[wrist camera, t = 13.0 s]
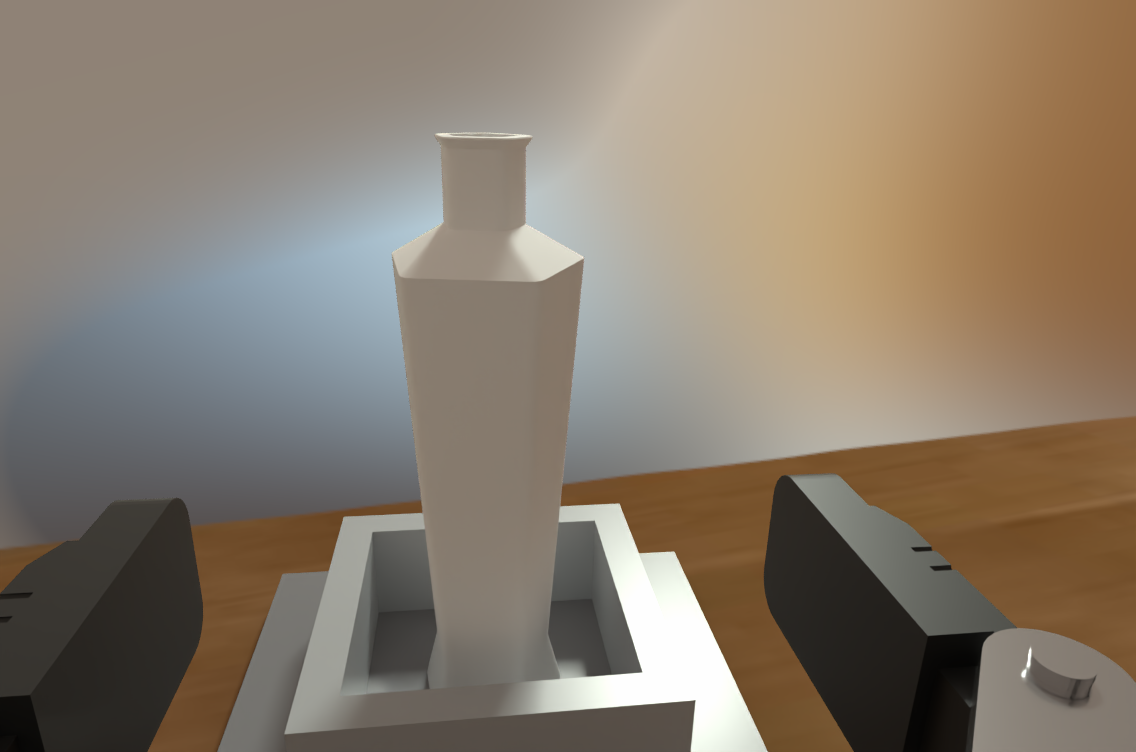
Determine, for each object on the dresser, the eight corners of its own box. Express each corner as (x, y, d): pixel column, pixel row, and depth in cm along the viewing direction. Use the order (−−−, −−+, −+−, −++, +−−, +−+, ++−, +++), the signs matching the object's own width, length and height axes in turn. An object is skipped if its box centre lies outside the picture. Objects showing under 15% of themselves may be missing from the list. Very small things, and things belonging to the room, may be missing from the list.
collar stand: (672, 574, 29) (679, 479, 28) (805, 876, 18) (829, 742, 16) (286, 598, 27) (273, 497, 26) (164, 951, 16) (130, 807, 15)
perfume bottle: (574, 634, 24) (588, 132, 19) (569, 746, 20) (585, 142, 15) (428, 628, 24) (403, 128, 19) (393, 737, 20) (349, 136, 15)
